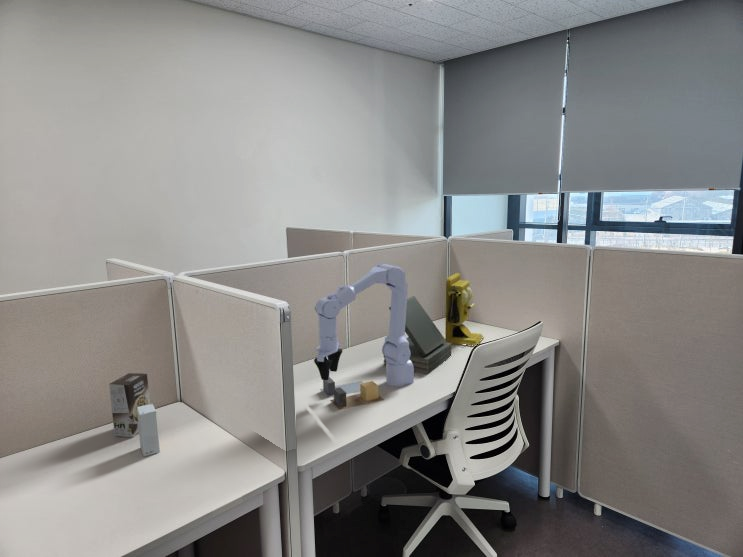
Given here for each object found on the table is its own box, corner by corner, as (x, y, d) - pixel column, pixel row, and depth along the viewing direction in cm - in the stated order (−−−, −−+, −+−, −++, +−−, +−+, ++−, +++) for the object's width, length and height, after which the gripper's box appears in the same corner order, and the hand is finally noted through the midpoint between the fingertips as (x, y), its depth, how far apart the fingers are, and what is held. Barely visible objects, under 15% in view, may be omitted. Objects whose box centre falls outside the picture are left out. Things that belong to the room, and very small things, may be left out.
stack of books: (427, 375, 185) (428, 311, 181) (383, 366, 195) (382, 305, 191) (451, 357, 204) (452, 299, 200) (409, 349, 215) (409, 294, 210)
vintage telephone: (471, 353, 208) (473, 284, 202) (439, 349, 213) (440, 282, 208) (487, 333, 235) (489, 272, 230) (459, 330, 241) (460, 270, 236)
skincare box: (160, 452, 133) (156, 411, 130) (143, 457, 130) (138, 415, 128) (156, 442, 138) (152, 403, 136) (140, 447, 135) (135, 406, 133)
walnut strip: (373, 393, 168) (373, 378, 167) (384, 402, 161) (384, 387, 160) (330, 402, 162) (329, 387, 161) (339, 412, 154) (338, 396, 153)
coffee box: (133, 438, 141) (127, 385, 138) (113, 436, 142) (107, 383, 139) (153, 423, 149) (148, 373, 147) (134, 421, 151) (128, 372, 148)
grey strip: (361, 383, 177) (361, 369, 176) (371, 391, 170) (370, 376, 169) (319, 391, 170) (319, 377, 169) (327, 400, 163) (327, 385, 162)
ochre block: (372, 393, 166) (372, 380, 165) (378, 398, 162) (378, 385, 161) (360, 396, 164) (360, 383, 163) (366, 401, 160) (365, 388, 159)
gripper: (324, 328, 165) (326, 366, 168) (307, 341, 152) (309, 382, 154) (344, 329, 163) (345, 368, 166) (328, 342, 150) (330, 384, 152)
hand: (329, 375), depth 160 cm, fingers open, 7 cm apart
